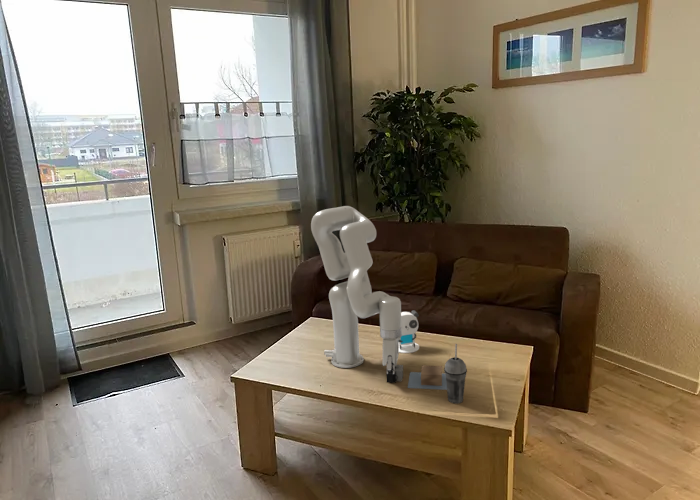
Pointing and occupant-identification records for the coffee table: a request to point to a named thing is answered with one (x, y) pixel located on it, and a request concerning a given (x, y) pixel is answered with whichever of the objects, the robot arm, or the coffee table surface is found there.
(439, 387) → the blue board
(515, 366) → the coffee table surface
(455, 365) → the beverage cup
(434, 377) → the light brown plinth
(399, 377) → the grey symbol cube
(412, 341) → the panda figurine
